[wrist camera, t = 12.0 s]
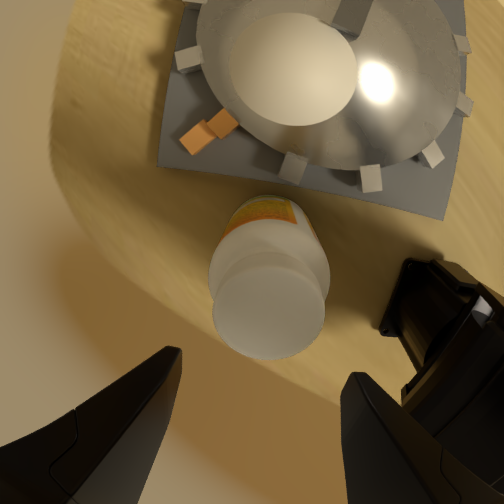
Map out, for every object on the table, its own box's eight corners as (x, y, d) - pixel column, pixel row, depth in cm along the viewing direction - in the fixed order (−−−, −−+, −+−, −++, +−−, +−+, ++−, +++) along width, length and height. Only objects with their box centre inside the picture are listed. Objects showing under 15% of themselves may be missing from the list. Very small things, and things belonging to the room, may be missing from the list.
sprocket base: (436, 217, 18) (448, 224, 16) (162, 165, 18) (151, 167, 16) (456, -5, 11) (467, -12, 9) (213, -65, 11) (208, -77, 9)
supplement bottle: (212, 242, 20) (165, 327, 10) (260, 176, 18) (250, 211, 9) (277, 287, 20) (279, 392, 11) (327, 227, 19) (375, 304, 10)
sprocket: (502, 47, 11) (557, 35, 5) (364, 247, 18) (404, 297, 12) (309, -98, 8) (317, -147, 2) (126, 78, 15) (64, 58, 9)
